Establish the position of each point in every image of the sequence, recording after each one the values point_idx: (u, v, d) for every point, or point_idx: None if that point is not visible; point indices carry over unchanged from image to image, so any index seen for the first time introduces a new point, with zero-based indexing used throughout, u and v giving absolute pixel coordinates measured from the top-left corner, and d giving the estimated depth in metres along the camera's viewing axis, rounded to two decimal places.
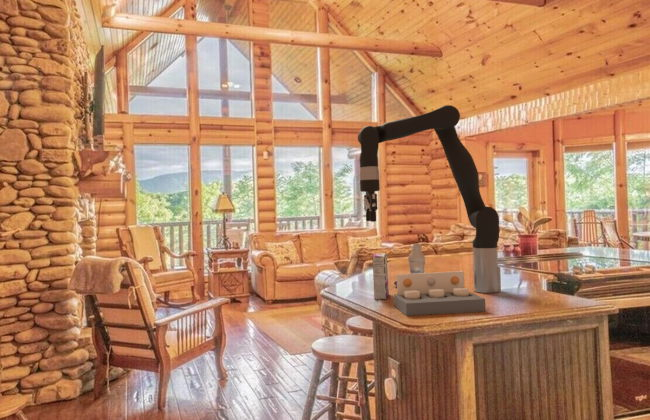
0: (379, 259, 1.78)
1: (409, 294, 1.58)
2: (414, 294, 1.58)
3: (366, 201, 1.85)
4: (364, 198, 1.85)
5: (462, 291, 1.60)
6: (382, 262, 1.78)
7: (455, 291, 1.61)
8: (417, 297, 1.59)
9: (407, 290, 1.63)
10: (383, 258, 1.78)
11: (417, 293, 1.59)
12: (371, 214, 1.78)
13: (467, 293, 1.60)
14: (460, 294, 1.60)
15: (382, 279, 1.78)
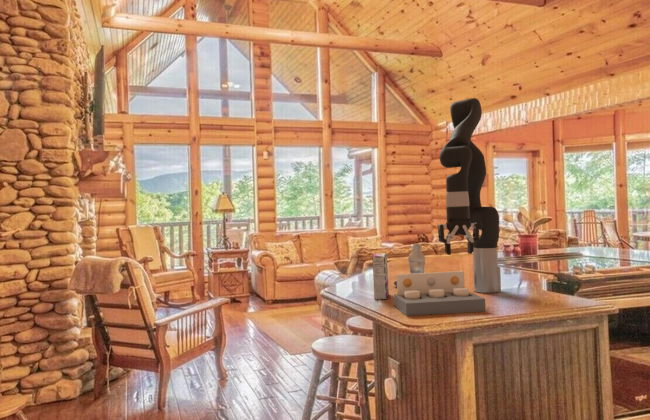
0: (379, 259, 1.78)
1: (409, 294, 1.58)
2: (414, 294, 1.58)
3: None
4: (455, 227, 1.60)
5: (462, 291, 1.60)
6: (382, 262, 1.78)
7: (455, 291, 1.61)
8: (417, 297, 1.59)
9: (407, 290, 1.63)
10: (383, 258, 1.78)
11: (417, 293, 1.59)
12: (472, 245, 1.62)
13: (467, 293, 1.60)
14: (460, 294, 1.60)
15: (382, 279, 1.78)
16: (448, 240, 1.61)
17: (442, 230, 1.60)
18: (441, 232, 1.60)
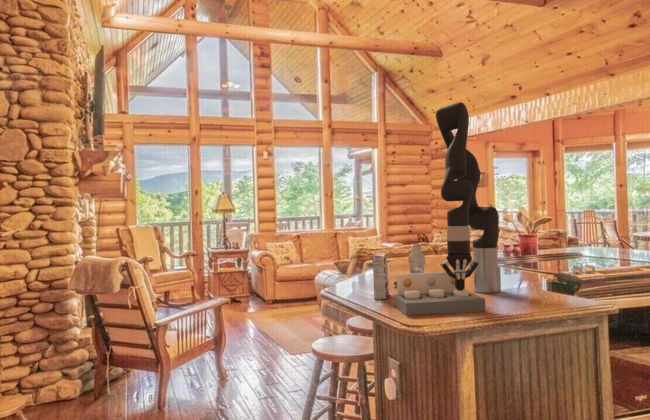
0: (379, 259, 1.78)
1: (409, 294, 1.58)
2: (414, 294, 1.58)
3: (458, 264, 1.61)
4: (456, 262, 1.60)
5: (462, 292, 1.60)
6: (382, 262, 1.78)
7: (455, 292, 1.61)
8: (417, 297, 1.59)
9: (407, 290, 1.63)
10: (383, 258, 1.78)
11: (417, 293, 1.59)
12: (463, 282, 1.62)
13: (467, 294, 1.60)
14: (460, 295, 1.60)
15: (382, 279, 1.78)
16: (457, 276, 1.61)
17: (447, 268, 1.61)
18: (447, 270, 1.61)
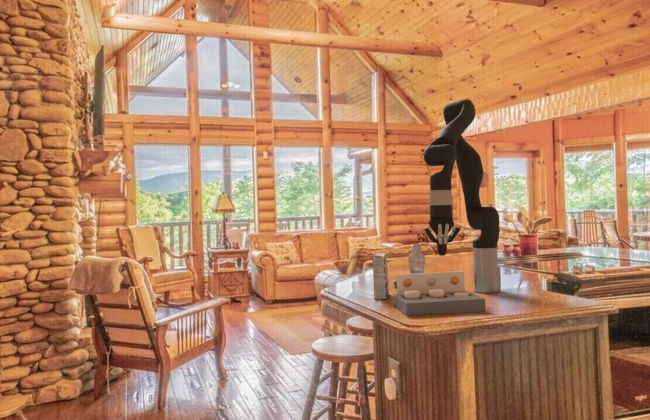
0: (379, 259, 1.78)
1: (409, 294, 1.58)
2: (414, 294, 1.58)
3: None
4: (439, 226, 1.59)
5: None
6: (382, 262, 1.78)
7: (455, 296, 1.61)
8: (417, 297, 1.59)
9: (407, 290, 1.63)
10: (383, 258, 1.78)
11: (417, 293, 1.59)
12: (445, 247, 1.60)
13: None
14: None
15: (382, 279, 1.78)
16: (440, 241, 1.60)
17: (429, 233, 1.59)
18: (429, 235, 1.59)
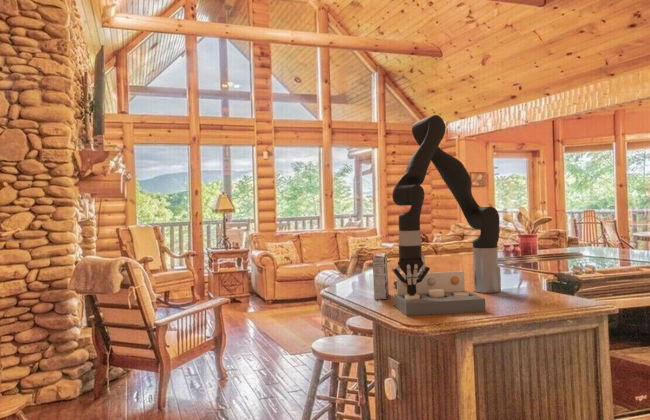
0: (379, 259, 1.78)
1: (409, 298, 1.59)
2: (414, 298, 1.58)
3: (409, 269, 1.59)
4: (407, 267, 1.59)
5: None
6: (382, 262, 1.78)
7: (455, 296, 1.61)
8: None
9: (407, 294, 1.63)
10: (383, 258, 1.78)
11: (417, 297, 1.59)
12: (415, 287, 1.60)
13: None
14: None
15: (382, 279, 1.78)
16: (409, 281, 1.59)
17: (398, 273, 1.59)
18: (398, 275, 1.59)
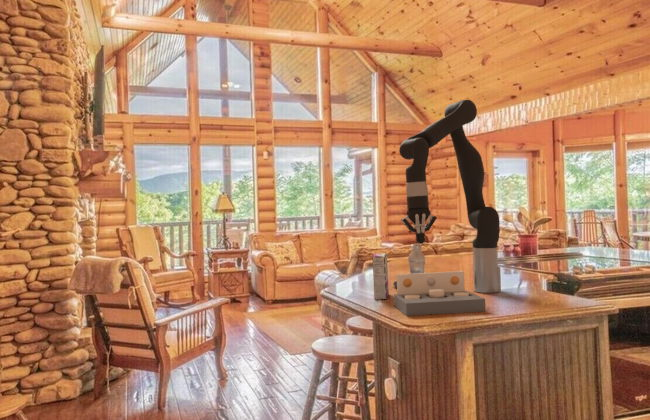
0: (379, 259, 1.78)
1: None
2: None
3: None
4: (416, 216, 1.68)
5: None
6: (382, 262, 1.78)
7: (455, 296, 1.61)
8: None
9: (407, 295, 1.63)
10: (383, 258, 1.78)
11: (417, 298, 1.59)
12: (423, 235, 1.70)
13: None
14: None
15: (382, 279, 1.78)
16: (417, 230, 1.69)
17: (407, 223, 1.68)
18: (408, 225, 1.68)
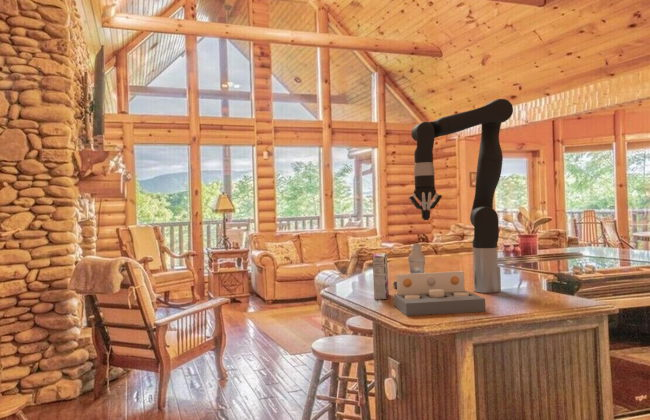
0: (379, 259, 1.78)
1: None
2: None
3: None
4: (422, 194, 1.81)
5: None
6: (382, 262, 1.78)
7: (455, 296, 1.61)
8: None
9: (407, 295, 1.63)
10: (383, 258, 1.78)
11: (417, 298, 1.59)
12: (429, 213, 1.83)
13: None
14: None
15: (382, 279, 1.78)
16: (423, 207, 1.82)
17: (414, 200, 1.82)
18: (414, 202, 1.82)
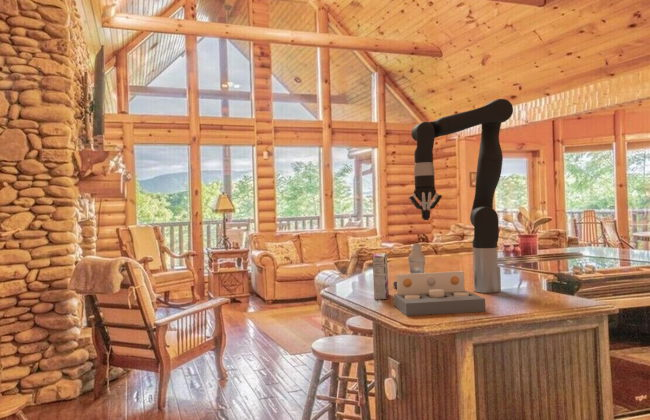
0: (379, 259, 1.78)
1: None
2: None
3: None
4: (422, 194, 1.81)
5: None
6: (382, 262, 1.78)
7: (455, 296, 1.61)
8: None
9: (407, 295, 1.63)
10: (383, 258, 1.78)
11: (417, 298, 1.59)
12: (429, 213, 1.83)
13: None
14: None
15: (382, 279, 1.78)
16: (423, 207, 1.82)
17: (414, 200, 1.82)
18: (414, 202, 1.82)
